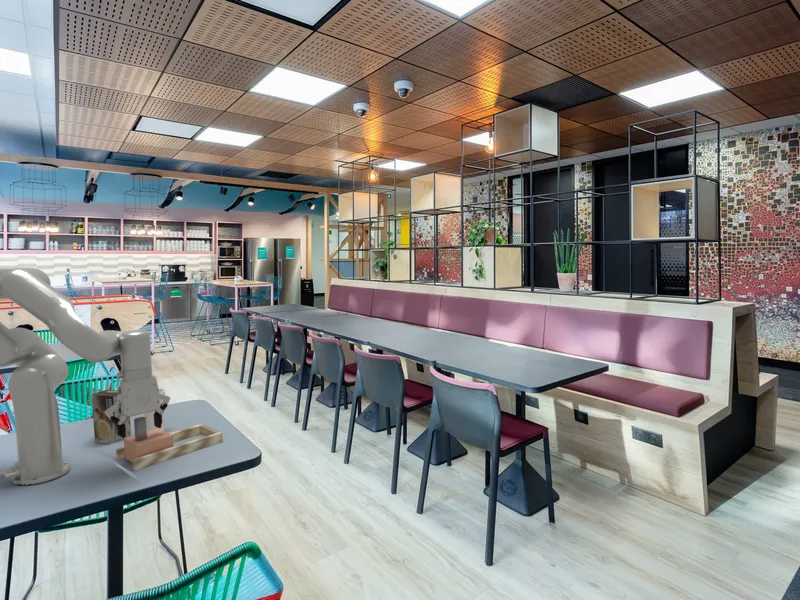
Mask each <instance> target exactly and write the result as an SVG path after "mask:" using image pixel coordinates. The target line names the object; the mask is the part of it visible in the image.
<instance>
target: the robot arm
mask: <svg viewBox="0 0 800 600" xmlns="http://www.w3.org/2000/svg"><path fill="white" fill-rule="evenodd" d="M0 299H1V300H2V299H5V300H6V299H8V300H10V301H11V302H13V303H14V304H16V305H17V306H19V308H22V309H23V310H25V311H26V312H27V313H29V314H30V315H32V316H33V317H35V318H36V319H38V320H39V321H40V322H42V323H43V324H44V325H46V327H47V328H48V330H49V332H51V333H52V334H53V336H54V337H55V338H56V339H57V340H58V341H59V343H61V344H62V345H64V347H66V348H67V349H68V350H70V351H71V352H73V353H74V354H76V355H77V356H79V357H81V358H82V359H84V360H86V361H89V362H92V363H103V362H105V361H107V360H109V359H110V358H113V357H115V356H117V355H118V356H119V355H120V365H121V366H120V367H121V368H120V372H116V378H120V380H119V383H118V388H117V390H118V402H117V403H115V404H114V405H113V406H111V407H110V408H108V409H107V410H105V414H106V415H107V416H108V417H109V419H110V420H112V421H114V422H115V423H117V434H118V435H119V436H120V437H122V438H125V437H126V428H125V424H124V423H123V422H124V421H125V419H126V418H127V417H130V418H131V417H134V416H139V415H143V414H144V413H147V412H151V411H155V413H154V426H155V427H157V428H161V424H162V414H163V413H164V410H165V411H166V409H167V407H168V405H169V402H170V400H171V396H168V395H166V394H165V395H161V394H159V389H160V388H159V384H158V380H157V377H156V375H153V368H152V367H153V366H152V350H151V349H152V348H151V335H150V332H148V331H147V330H145V329H143V330H142V329H134V330H126V331H125V330H109V329H107V330H103V331H100V332H97V331H96V330H95V329H93V328H92V327H91V326H89V325H88V324H86V323H85V322H84V321H83V320H82V319H81V318H80V317H79V316H78V314H77V313H76V309H75V304H74V303H73V301H72V300H71V299H70V298H68V296H65V294H62V293H61V292H60V291H58V290H57V289H56V288H54V287H53V286H52V285H51V279H50V277H49V276H48V274H46V272H44V271H43V270H41V269H39V268H34V267H14V268H0ZM13 365H15V366H16V367H17V368H15V369H14V371H12V373H11V374H10V376H9V379H8V381H7V382H8V385H7V387H8V388H7V389H8V392H9V396H10V399H11V400H10V401H11V402H12V407H13V417H14V424H15V438H16V446H17V447H16V448H17V449H16V450H17V458H18V460H17V461H16V462H15V463H14V465H13V466H11V467H10V468H7V469H3V470H0V479H4V480H8V479H12V480H13V481H12V480H11V481H12V483H13V482H15V483H16V484H15V483H14V484H15V485H18V484H22V485H21V486H28V485H29V484H31V485H37V483H38V484H42V483H46V482H49V480H50V481H52V479H53V480H55V479H58V478H59V477H61V476H62V477H63V476H64V475H65V474H66V473H68V472H69V471H70V470H71V465H70V462H68V461H64V460H63V459H64V458H63V447H62V435H61V434H62V433H61V420H60V419H61V418H60V411H59V409H60V408H59V403H58V400H57V396H56V393H55V388H56V387H58V386H61V385H62V384H63V383H64V382H65V381H66V379H67V378H68V375H69V366H68V364H67V362H66V361H65V360H64V359H63V358H62V356H60V355H59V353H57V351H56V350H54V349H53V348H52V347H51V346H50V345H49V344H48V343H47V342H46V341H45V340H43V338H42V337H41V336H40V335H38V334H37V333H35V332H34V331H32V330H30V329H28V328H24V327H11V328H8V327H7V326H6V325H4V323H2V321H0V368H6V367H10V366H13ZM160 399H163V403H162V404H161V403H160ZM117 409H118V412H119V415H118V416H117V417H115V416H114V414H113V412H114V411H115V410H117ZM24 484H25V485H24ZM29 486H30V485H29Z"/></svg>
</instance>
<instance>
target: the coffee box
mask: <svg viewBox="0 0 800 600" xmlns="http://www.w3.org/2000/svg"><path fill="white" fill-rule="evenodd" d="M117 402H118V389H117V390H115V389H104V390H101V391H99V392H98V391H97V392H96V393H92V394H91V407H92V420H93V422H92V423H93V432H94V435H93V436H94V443H96V444H105V445H106V444H107V445H112V444H115V443H119V442H122V441H123V442H124V438H122V437H120V436H119V435H118V434H117V423H115V422H114V421H112V420H110V419H109V417H108V416H107V415H106V414H105V410H107V409H108V408H110V407H111V406H113V405H114V404H115V403H117ZM113 414H114V416H115V417H117V416H118V415H119V412H118V409H117V410H115V411H114V412H113ZM123 423H124V424H125V428H126V437H125V438H127V437H130V436H132V425H131V417H127V418H126V419H125V421H124V422H123Z"/></svg>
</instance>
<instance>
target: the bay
mask: <svg viewBox="0 0 800 600" xmlns="http://www.w3.org/2000/svg"><path fill="white" fill-rule="evenodd" d="M168 433H169V434H171V435H173V443H176V442H179V441H183V440H186V439H190V438H193V437H195V436H199V435H201V436H202V437H200V438H197V439H196V438H195V439H194V440H190V441H187V442H183V443H181V444H177V445H173V447H171V448H168V449H164V450H161V451H158V452H155V453H152V454H149V455H145V456H142V457H139V458H136V459H133V463H132V470H133V471H138V470H141V469H144V468H147V467H150V466H155V465H157V464H159V463H163V462H165V461H168V460H171V459H174V458H178V457H180V456H184V455H186V454H190V453H192V452H195V451H199V450H202V449H204V448H207V447H210V446H213V445H216V444H220V443H222V442H223V432H221V431H219V430H218V429H214V428H212V427H210V426H207V425H204V424H202V423H200V424H197V425H194V426H190V427H187V428H183V429H179V430H176V431H173V432H168ZM115 459H117V460H121V459H125V452H124V446H121V447H118V448H116V449H115Z"/></svg>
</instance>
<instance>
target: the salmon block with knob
mask: <svg viewBox="0 0 800 600" xmlns="http://www.w3.org/2000/svg"><path fill="white" fill-rule="evenodd" d="M133 425H134V435H131V436H130V437H127V438H124V440H123V447H124V452H125V458H124V459H125V460H126V461H129V462H130V463H132V464H133V459H136V458H139V457H142V456H145V455H149V454H152V453H155V452H158V451H161V450H164V449H168V448H171V447H174V442H173V435H171V434H169V433H170V432H167V431H166V430H165V431H163V430H161V429H155V430H152V431H148V432H147V427H146V417H145V416H140V417H135V418H134V419H133Z"/></svg>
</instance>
